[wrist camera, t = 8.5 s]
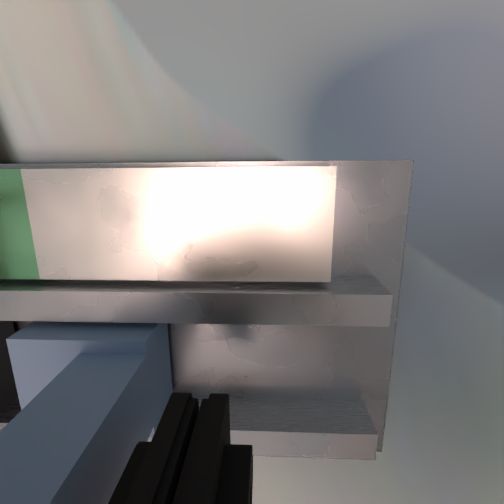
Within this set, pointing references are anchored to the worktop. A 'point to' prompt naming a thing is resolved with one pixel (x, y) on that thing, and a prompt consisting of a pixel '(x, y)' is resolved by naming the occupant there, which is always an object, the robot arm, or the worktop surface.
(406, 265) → the worktop surface
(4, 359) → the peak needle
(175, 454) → the robot arm
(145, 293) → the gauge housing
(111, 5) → the worktop surface
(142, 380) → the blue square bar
